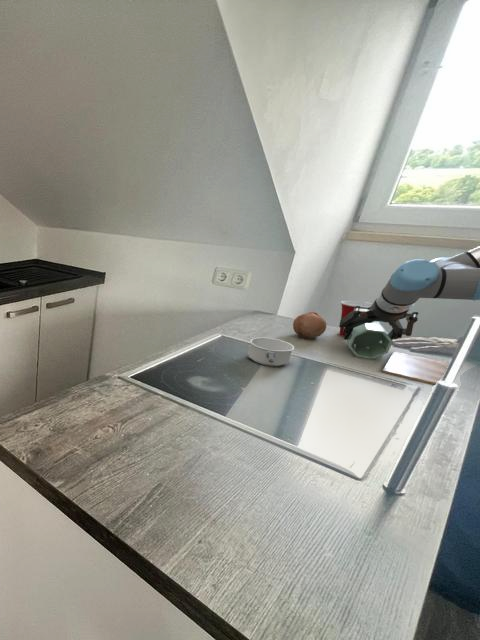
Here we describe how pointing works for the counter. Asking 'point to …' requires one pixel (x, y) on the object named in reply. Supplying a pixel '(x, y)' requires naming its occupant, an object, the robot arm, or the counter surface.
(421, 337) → the counter surface
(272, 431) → the counter surface
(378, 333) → the tumbler
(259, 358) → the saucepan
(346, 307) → the plastic cup
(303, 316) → the onion
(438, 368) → the wooden cutting board
